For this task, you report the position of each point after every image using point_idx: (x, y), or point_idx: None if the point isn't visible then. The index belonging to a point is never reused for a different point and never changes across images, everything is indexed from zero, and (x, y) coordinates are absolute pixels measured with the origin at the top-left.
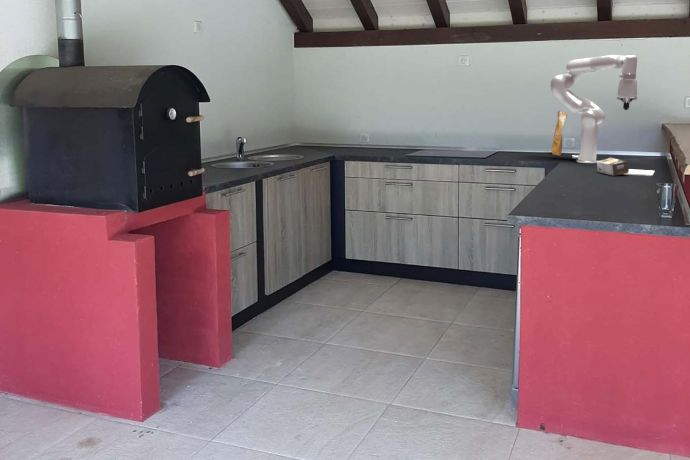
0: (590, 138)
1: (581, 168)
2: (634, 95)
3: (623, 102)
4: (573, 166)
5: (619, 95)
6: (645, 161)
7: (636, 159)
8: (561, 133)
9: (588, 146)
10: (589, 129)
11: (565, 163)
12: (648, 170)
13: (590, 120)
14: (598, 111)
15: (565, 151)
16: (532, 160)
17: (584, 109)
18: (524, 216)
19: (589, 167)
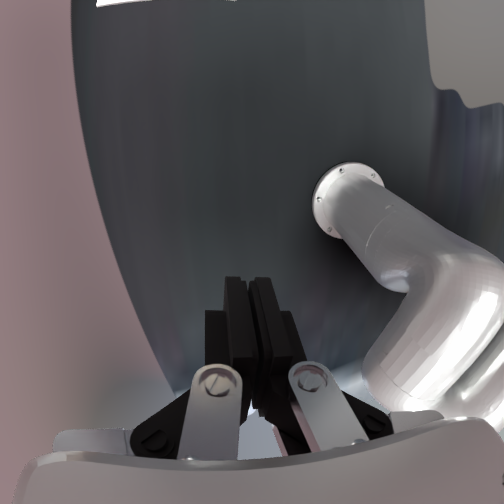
0: (397, 205)
1: (365, 15)
2: (36, 492)
3: (320, 368)
4: (393, 63)
5: (480, 441)
6: (153, 302)
7: (188, 336)
8: None
9: (383, 191)
10: (432, 223)
11: (416, 141)
12: (116, 1)
13: (466, 242)
14: (440, 354)
15: (366, 391)
16: (480, 190)
17: (498, 345)
18: None
19: (341, 45)
